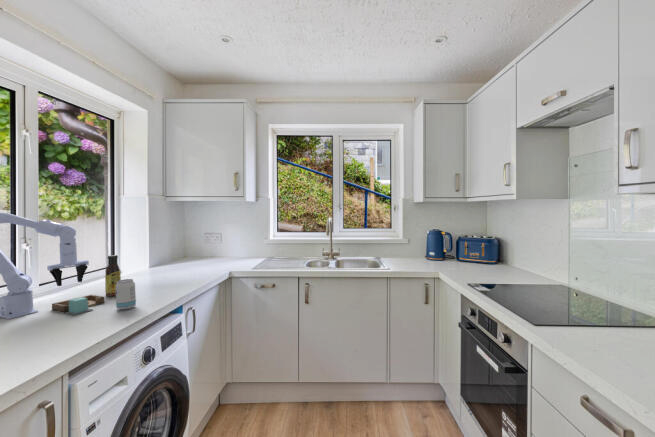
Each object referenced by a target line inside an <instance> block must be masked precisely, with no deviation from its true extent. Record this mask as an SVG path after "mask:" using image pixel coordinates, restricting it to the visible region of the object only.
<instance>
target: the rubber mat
mask: <svg viewBox="0 0 655 437" xmlns="http://www.w3.org/2000/svg"><path fill="white" fill-rule="evenodd" d="M92 311H93V312H94V309H92V308H88V310H86V311H82V312H79V313H71V312H65V313H63V314H65V315H69V316H74V317H75V316H78V315H82V314H86V313H89V312H92Z"/></svg>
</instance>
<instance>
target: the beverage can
mask: <svg viewBox="0 0 655 437" xmlns="http://www.w3.org/2000/svg"><path fill="white" fill-rule="evenodd" d="M136 304H137V303H136V283H135V281H134V279H132V278H127V279H126V278H125V279H121V280H120V281H117V284H116V296H115V306H116V307H115V308H116V309H118V310H119V311H128V310H132V309H133V308H134V307H136Z"/></svg>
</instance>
